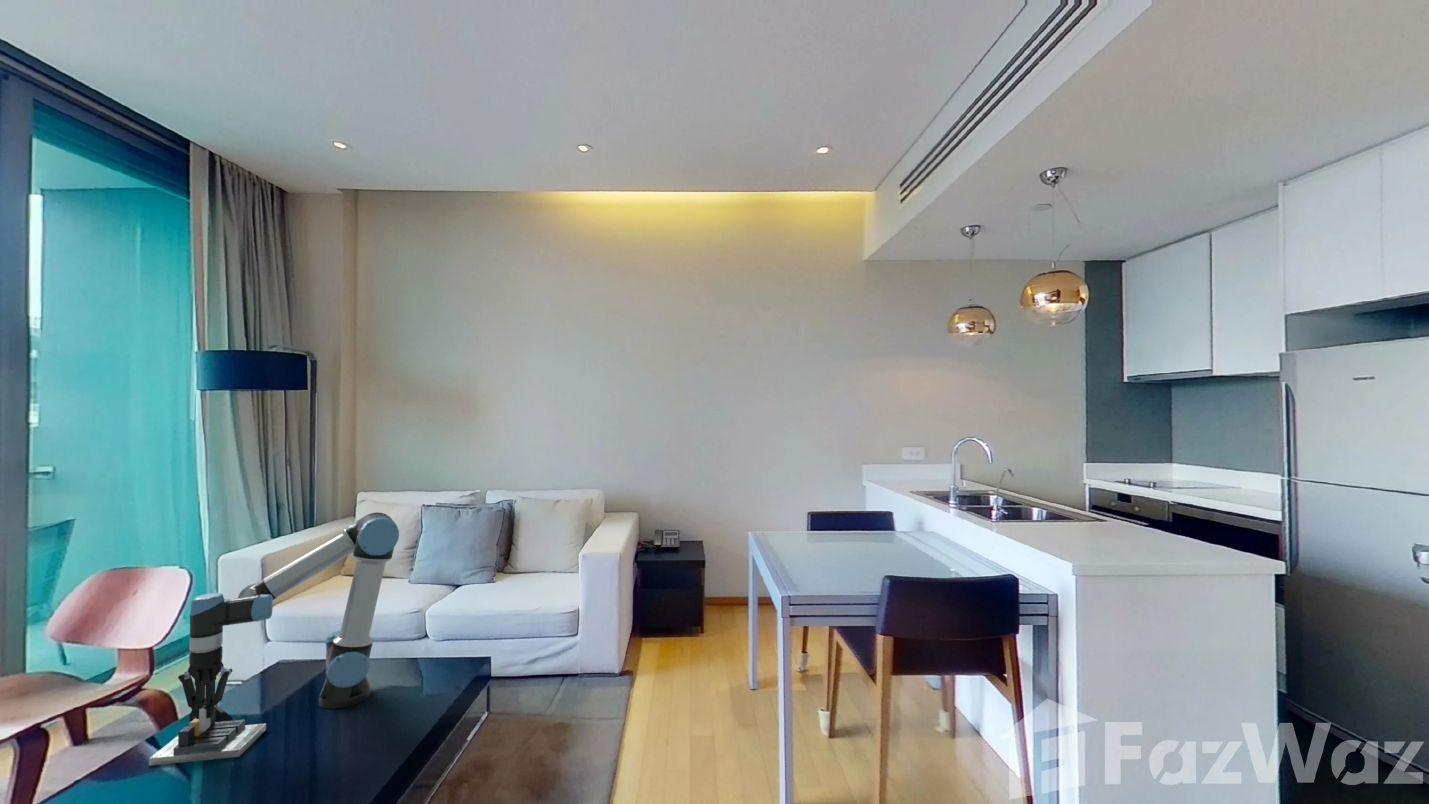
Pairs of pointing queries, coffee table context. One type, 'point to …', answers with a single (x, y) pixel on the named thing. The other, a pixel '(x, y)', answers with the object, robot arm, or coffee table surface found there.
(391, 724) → the coffee table surface
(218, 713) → the gun
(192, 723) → the handle
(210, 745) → the panel
